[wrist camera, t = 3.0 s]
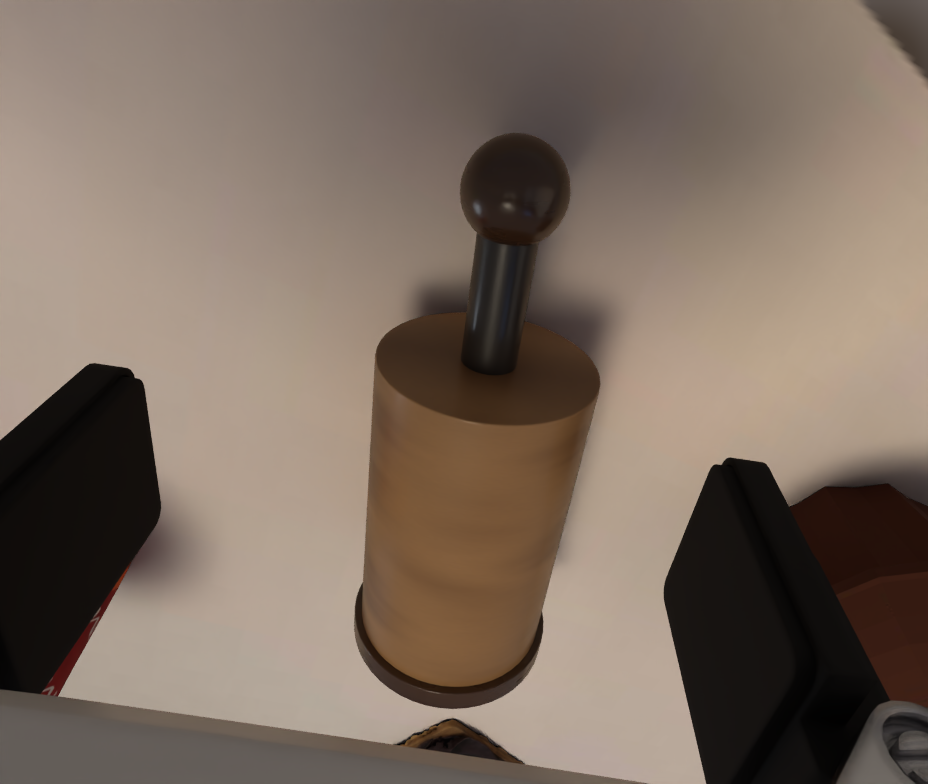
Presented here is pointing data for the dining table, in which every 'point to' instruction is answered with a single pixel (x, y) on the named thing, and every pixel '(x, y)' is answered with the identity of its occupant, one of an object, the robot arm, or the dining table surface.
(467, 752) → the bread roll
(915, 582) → the muffin
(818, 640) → the robot arm
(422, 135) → the dining table surface
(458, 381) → the paper towel holder
